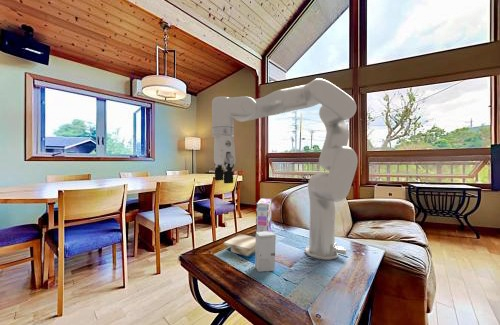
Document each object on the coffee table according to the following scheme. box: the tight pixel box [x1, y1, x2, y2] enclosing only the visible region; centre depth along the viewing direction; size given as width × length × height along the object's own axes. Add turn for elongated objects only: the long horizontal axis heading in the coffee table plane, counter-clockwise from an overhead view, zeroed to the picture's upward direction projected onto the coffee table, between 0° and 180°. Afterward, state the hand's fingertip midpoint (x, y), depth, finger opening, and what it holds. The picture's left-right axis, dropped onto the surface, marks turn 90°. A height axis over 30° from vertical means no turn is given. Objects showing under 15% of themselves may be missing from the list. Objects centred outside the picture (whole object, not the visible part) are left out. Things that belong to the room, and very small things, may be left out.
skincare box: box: [254, 230, 277, 273], centre depth 81 cm, size 6×4×12 cm
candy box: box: [255, 198, 272, 233], centre depth 117 cm, size 14×6×16 cm, turn 168°
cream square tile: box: [223, 233, 256, 257], centre depth 97 cm, size 12×12×4 cm
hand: (223, 181), depth 85 cm, fingers open, 9 cm apart
